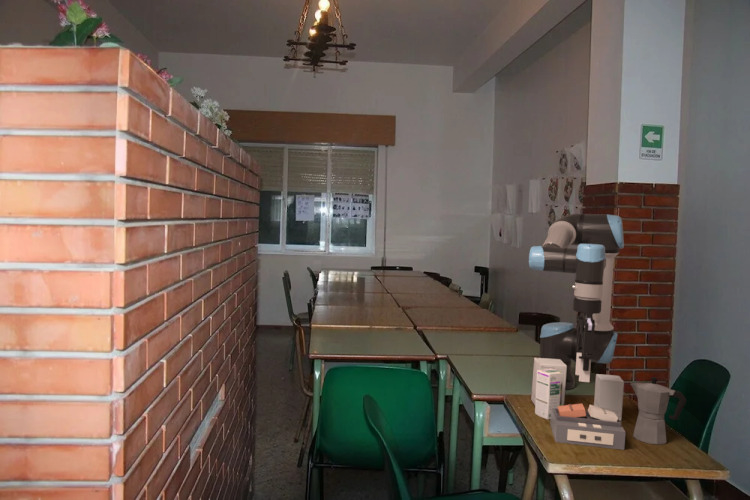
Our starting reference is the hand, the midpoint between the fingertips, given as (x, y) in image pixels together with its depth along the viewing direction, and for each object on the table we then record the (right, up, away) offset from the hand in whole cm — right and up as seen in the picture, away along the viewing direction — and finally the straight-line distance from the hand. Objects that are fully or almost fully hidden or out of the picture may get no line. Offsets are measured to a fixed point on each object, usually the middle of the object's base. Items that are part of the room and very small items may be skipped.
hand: (582, 378), depth 165 cm
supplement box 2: (+15, -17, +19) cm, 30 cm away
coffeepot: (+21, -18, +1) cm, 27 cm away
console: (+1, -17, +1) cm, 17 cm away
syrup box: (-5, -16, +17) cm, 24 cm away
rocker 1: (-3, -10, +1) cm, 10 cm away
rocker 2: (+6, -10, -1) cm, 12 cm away
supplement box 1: (-2, -15, +28) cm, 32 cm away
